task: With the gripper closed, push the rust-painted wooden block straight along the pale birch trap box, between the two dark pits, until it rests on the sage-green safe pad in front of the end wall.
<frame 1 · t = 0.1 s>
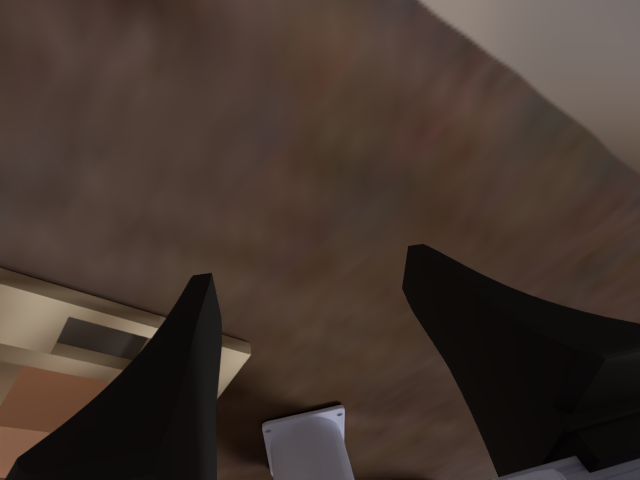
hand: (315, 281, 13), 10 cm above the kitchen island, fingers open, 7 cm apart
rust block: (56, 397, 24), point 1 cm above the kitchen island, touching trap box
trap box: (85, 387, 26), on the kitchen island
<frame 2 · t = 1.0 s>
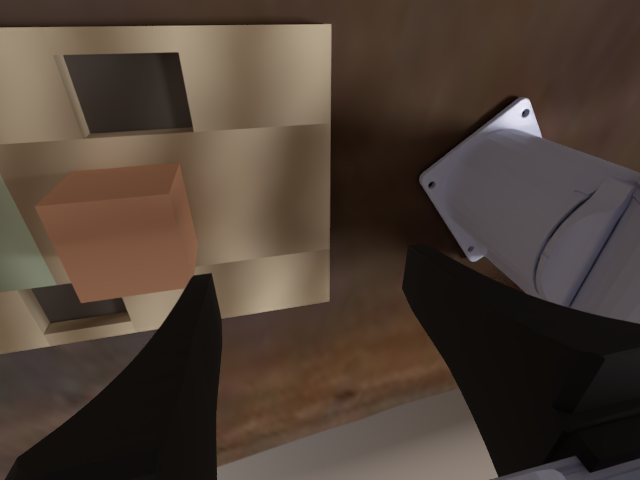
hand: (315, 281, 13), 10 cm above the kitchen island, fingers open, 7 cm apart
rust block: (140, 211, 19), point 1 cm above the kitchen island, touching trap box
trap box: (173, 199, 20), on the kitchen island
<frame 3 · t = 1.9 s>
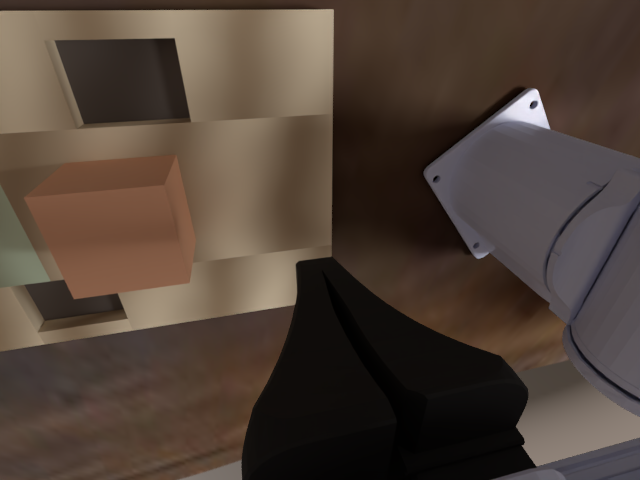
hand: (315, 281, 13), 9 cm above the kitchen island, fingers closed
rust block: (136, 205, 18), point 1 cm above the kitchen island, touching trap box
trap box: (170, 193, 20), on the kitchen island
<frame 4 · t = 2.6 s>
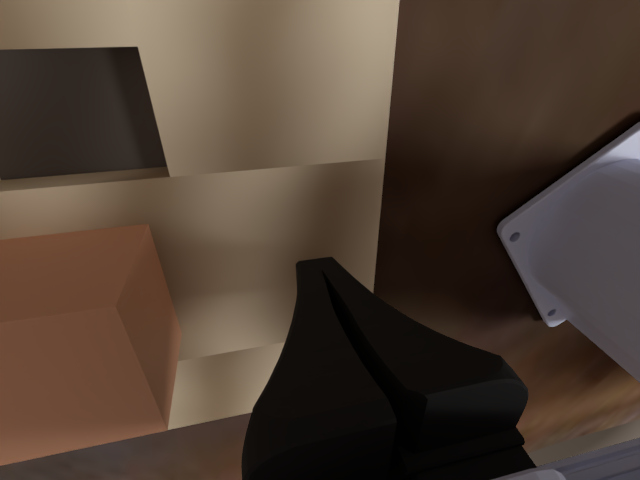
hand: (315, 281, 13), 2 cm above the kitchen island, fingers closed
rust block: (90, 295, 12), point 1 cm above the kitchen island, touching trap box
trap box: (143, 269, 13), on the kitchen island
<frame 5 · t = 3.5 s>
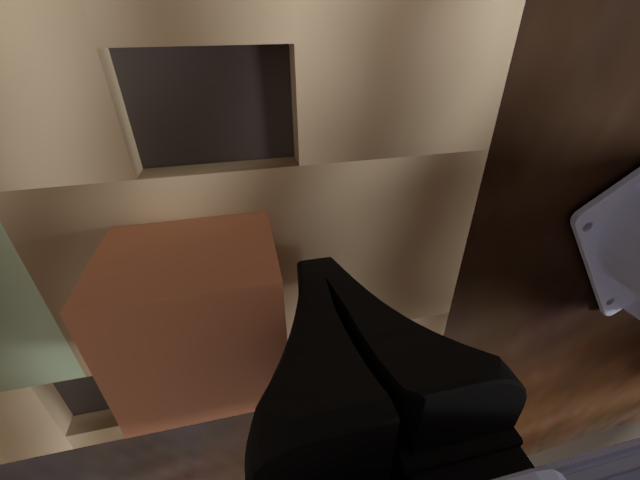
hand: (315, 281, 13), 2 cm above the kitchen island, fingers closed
rust block: (204, 278, 13), point 1 cm above the kitchen island, touching gripper
trap box: (249, 255, 14), on the kitchen island
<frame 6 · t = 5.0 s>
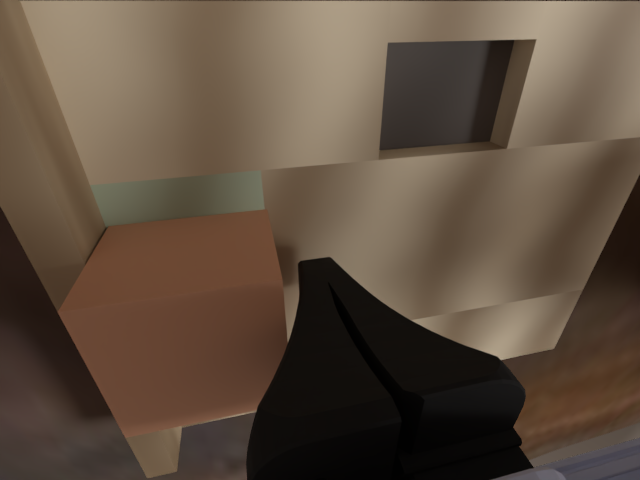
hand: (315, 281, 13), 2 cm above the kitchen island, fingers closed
rust block: (204, 277, 13), point 1 cm above the kitchen island, touching gripper, trap box
trap box: (425, 233, 16), on the kitchen island
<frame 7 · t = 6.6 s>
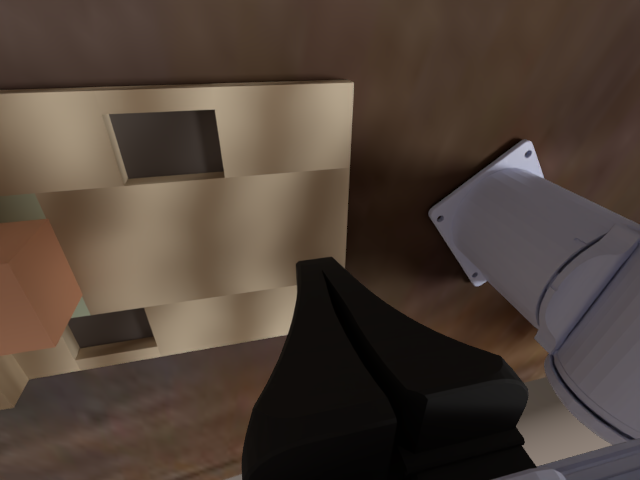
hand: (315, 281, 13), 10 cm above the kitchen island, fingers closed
rust block: (14, 265, 19), point 1 cm above the kitchen island, touching trap box
trap box: (200, 235, 21), on the kitchen island
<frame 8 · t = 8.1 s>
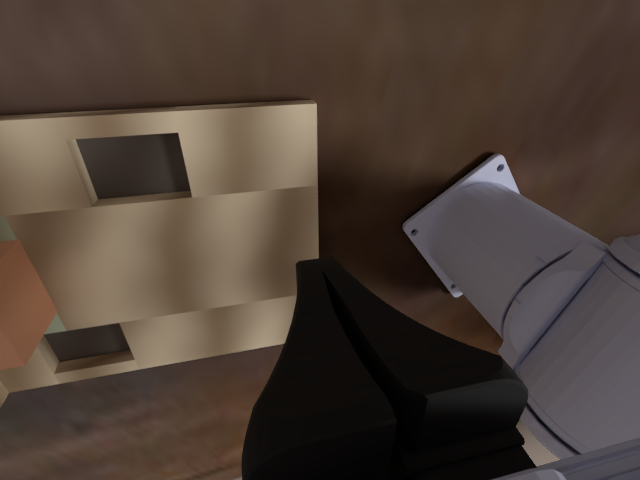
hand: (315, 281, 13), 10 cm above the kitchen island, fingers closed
trap box: (173, 251, 22), on the kitchen island
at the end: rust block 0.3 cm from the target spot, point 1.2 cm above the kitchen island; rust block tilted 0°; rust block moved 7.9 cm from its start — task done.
